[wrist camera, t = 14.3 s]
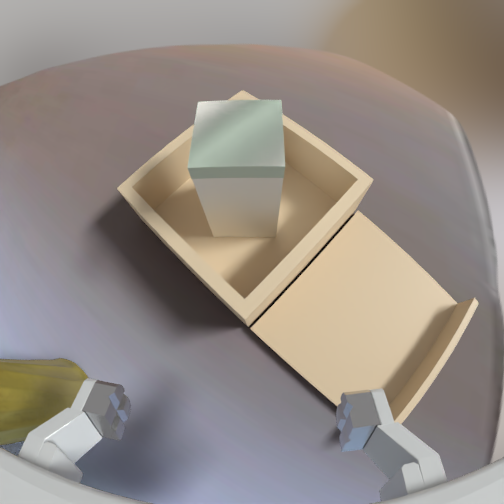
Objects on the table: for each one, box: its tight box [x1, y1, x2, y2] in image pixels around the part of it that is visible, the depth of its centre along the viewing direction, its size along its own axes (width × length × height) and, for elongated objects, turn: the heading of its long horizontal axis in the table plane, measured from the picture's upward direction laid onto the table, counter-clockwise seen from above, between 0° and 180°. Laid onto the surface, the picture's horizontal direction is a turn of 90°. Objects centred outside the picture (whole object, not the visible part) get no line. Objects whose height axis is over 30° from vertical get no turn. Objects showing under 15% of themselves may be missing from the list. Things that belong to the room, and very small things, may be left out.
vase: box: [0, 358, 88, 445], centre depth 13 cm, size 6×6×14 cm
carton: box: [188, 100, 285, 237], centre depth 19 cm, size 4×4×9 cm
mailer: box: [117, 90, 479, 424], centre depth 20 cm, size 24×12×5 cm, turn 46°
